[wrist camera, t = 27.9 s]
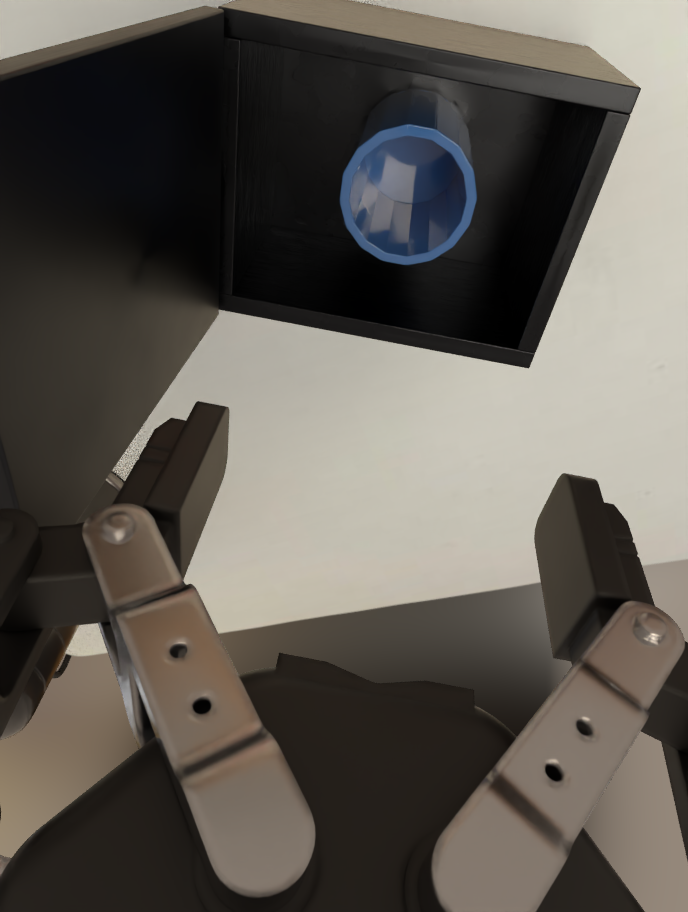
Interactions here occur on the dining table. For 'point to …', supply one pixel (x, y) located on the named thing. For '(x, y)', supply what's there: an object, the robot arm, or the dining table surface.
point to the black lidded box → (331, 142)
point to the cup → (409, 179)
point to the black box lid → (103, 246)
